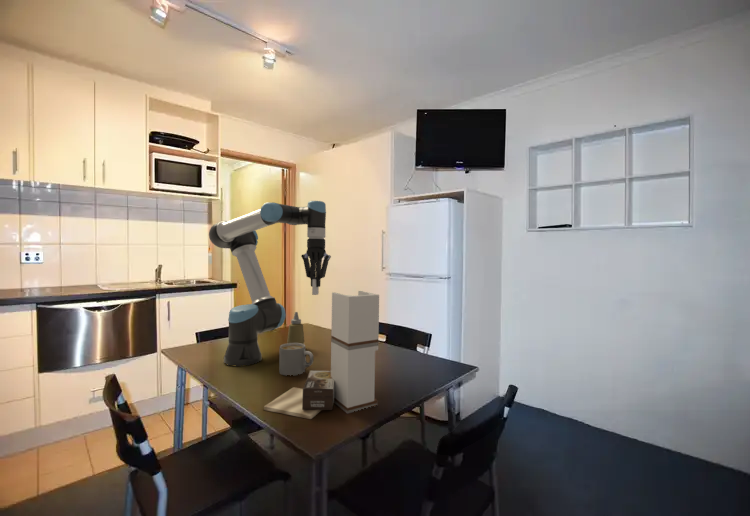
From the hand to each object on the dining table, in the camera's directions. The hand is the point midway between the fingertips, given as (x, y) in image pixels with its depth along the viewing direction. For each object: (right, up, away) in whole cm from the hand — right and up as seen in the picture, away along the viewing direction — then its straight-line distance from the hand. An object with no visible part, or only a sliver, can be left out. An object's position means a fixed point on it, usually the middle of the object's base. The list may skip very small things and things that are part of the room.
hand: (315, 294), depth 147 cm
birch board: (+2, -30, -37) cm, 48 cm away
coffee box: (+8, -26, -28) cm, 39 cm away
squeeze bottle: (-13, -29, +22) cm, 39 cm away
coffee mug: (-6, -30, -9) cm, 32 cm away
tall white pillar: (+18, -31, -36) cm, 51 cm away
